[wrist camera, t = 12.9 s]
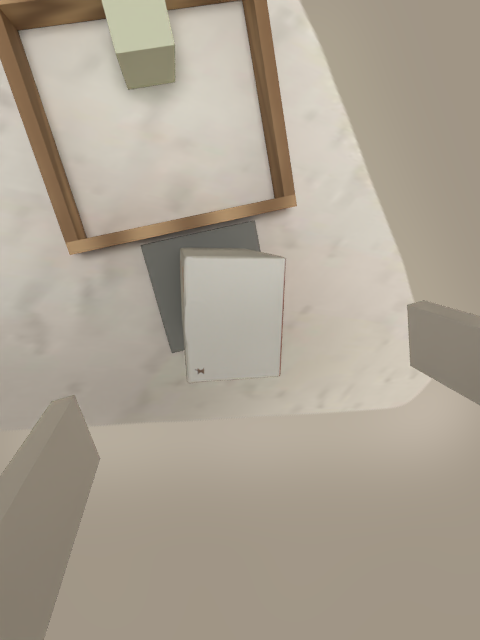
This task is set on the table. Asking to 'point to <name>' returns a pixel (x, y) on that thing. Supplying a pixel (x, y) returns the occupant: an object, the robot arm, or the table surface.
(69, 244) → the bin
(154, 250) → the mat
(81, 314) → the table surface
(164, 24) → the sage block
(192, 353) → the small box
